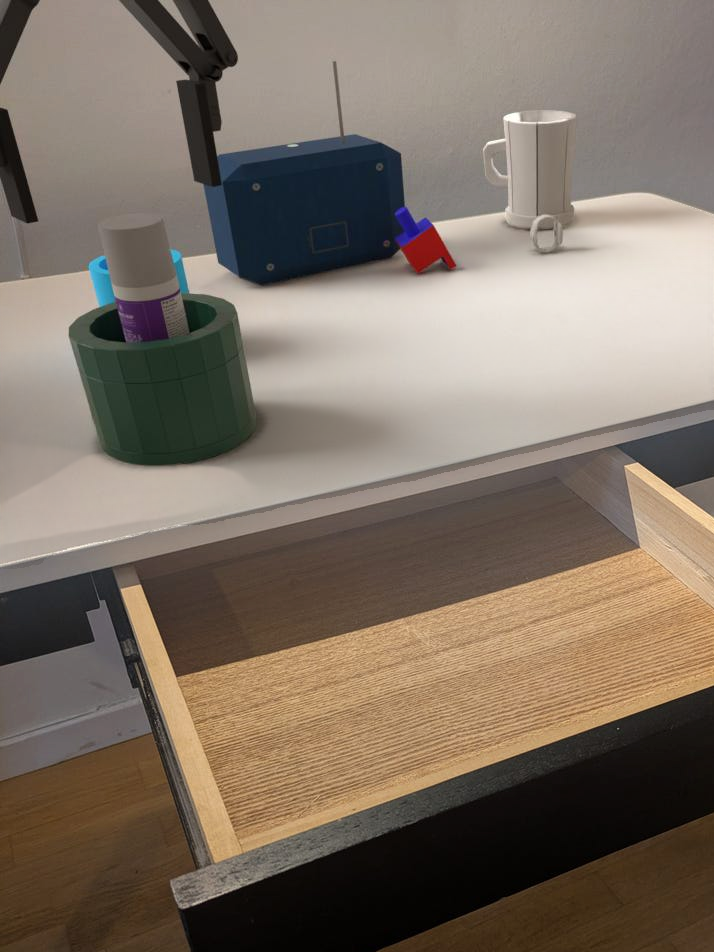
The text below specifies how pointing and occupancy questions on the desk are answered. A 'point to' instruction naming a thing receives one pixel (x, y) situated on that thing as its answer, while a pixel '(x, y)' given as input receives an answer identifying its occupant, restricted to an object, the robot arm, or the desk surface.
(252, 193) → the radio
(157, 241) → the container
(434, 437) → the desk surface
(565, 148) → the cup
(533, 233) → the grey ring
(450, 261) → the toy building block
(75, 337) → the jar
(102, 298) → the mug
